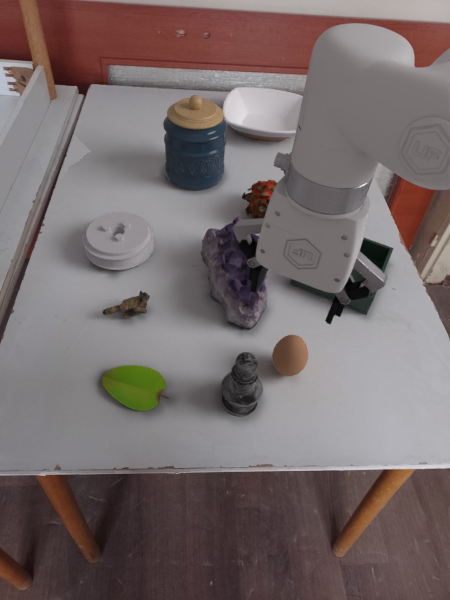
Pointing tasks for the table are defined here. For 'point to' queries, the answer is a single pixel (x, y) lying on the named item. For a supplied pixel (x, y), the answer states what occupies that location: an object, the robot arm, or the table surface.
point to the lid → (118, 240)
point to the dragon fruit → (259, 198)
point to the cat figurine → (130, 306)
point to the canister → (194, 143)
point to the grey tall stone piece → (242, 386)
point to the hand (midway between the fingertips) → (293, 299)
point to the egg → (290, 355)
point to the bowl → (262, 112)
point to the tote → (358, 274)
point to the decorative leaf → (135, 386)
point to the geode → (232, 277)
